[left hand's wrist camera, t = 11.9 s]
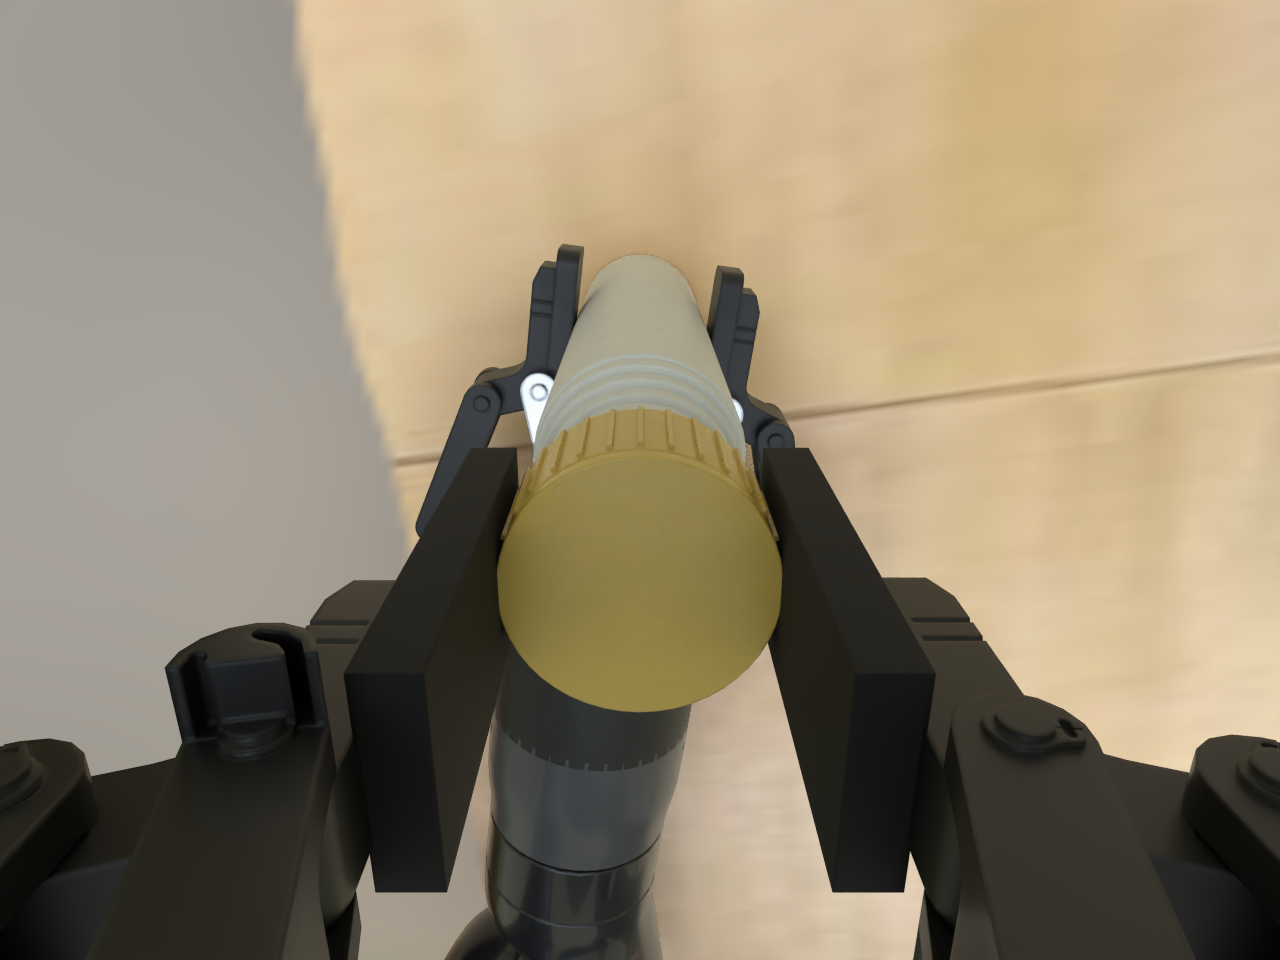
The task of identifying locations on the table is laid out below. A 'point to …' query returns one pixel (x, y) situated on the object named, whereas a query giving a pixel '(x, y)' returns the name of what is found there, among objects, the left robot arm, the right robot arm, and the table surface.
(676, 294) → the bottle
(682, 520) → the cap
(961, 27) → the table surface
